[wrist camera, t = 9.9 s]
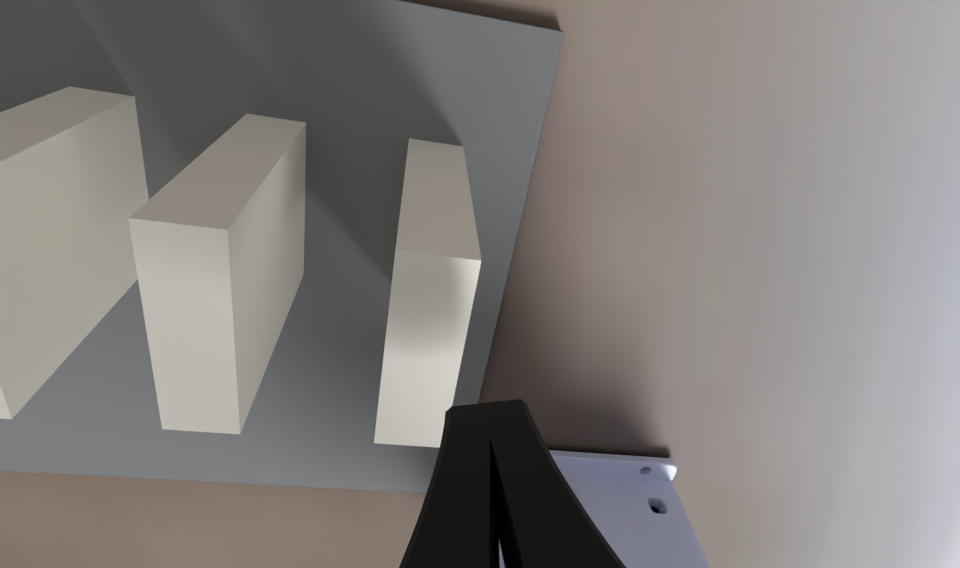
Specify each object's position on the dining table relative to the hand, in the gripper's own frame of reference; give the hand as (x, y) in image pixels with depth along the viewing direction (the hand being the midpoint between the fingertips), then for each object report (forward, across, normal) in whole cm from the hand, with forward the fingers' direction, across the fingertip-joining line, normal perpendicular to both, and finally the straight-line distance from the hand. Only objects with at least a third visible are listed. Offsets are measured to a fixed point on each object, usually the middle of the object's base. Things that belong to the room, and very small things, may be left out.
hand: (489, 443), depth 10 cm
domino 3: (+9, +1, 0) cm, 9 cm away
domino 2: (+9, +6, -2) cm, 11 cm away
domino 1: (+9, +10, -3) cm, 14 cm away
